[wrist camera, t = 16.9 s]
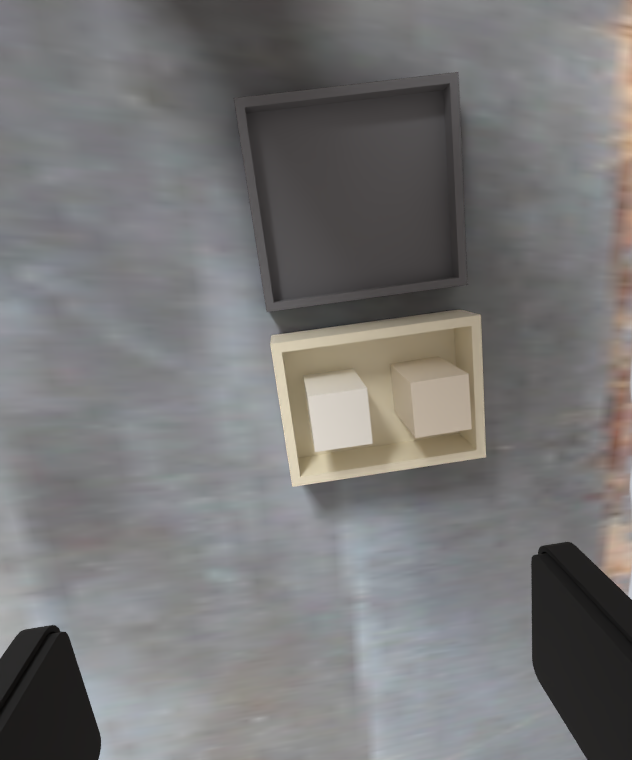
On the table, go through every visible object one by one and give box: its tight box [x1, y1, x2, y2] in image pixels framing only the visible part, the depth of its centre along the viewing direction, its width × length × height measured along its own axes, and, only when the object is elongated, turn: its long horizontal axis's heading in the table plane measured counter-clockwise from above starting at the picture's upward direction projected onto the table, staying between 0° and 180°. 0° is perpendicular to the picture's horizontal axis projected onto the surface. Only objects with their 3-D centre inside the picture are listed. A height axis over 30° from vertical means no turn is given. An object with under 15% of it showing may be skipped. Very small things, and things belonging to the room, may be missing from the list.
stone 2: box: [390, 356, 472, 438], centre depth 34 cm, size 4×4×6 cm
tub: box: [270, 309, 486, 487], centre depth 36 cm, size 11×15×4 cm
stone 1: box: [303, 368, 373, 452], centre depth 34 cm, size 4×4×6 cm
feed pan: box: [234, 72, 467, 312], centre depth 33 cm, size 14×15×2 cm
